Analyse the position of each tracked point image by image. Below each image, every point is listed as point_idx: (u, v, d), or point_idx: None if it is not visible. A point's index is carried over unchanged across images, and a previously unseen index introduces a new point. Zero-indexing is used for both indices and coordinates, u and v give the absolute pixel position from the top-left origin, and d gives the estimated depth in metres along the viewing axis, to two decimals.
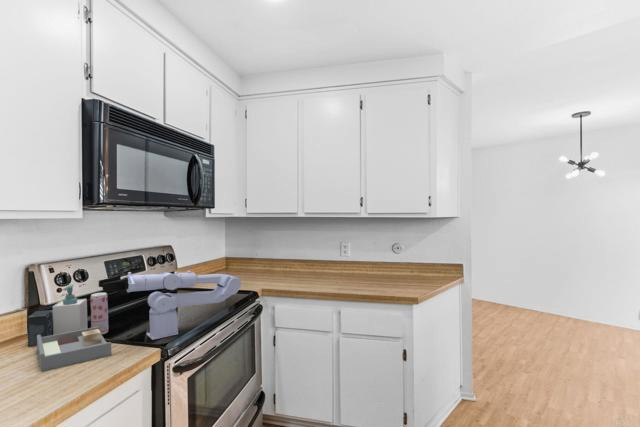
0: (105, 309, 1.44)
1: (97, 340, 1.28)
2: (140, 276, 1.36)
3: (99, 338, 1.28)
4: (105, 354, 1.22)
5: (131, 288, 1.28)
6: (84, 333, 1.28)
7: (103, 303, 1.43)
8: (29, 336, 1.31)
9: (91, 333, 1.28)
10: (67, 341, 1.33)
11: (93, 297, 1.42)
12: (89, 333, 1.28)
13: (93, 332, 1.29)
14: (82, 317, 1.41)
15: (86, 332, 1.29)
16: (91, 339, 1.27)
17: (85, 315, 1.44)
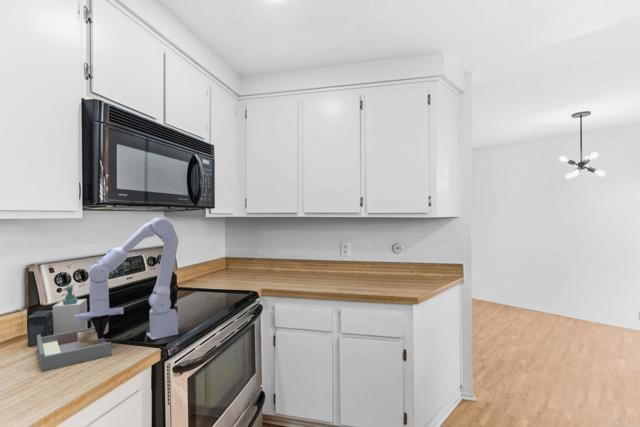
0: None
1: (92, 341, 1.27)
2: None
3: (95, 339, 1.28)
4: (105, 354, 1.22)
5: (75, 319, 1.26)
6: (80, 334, 1.27)
7: None
8: (29, 336, 1.31)
9: (87, 334, 1.27)
10: (67, 341, 1.33)
11: None
12: (85, 334, 1.27)
13: (89, 333, 1.28)
14: None
15: (82, 333, 1.28)
16: (86, 340, 1.26)
17: None
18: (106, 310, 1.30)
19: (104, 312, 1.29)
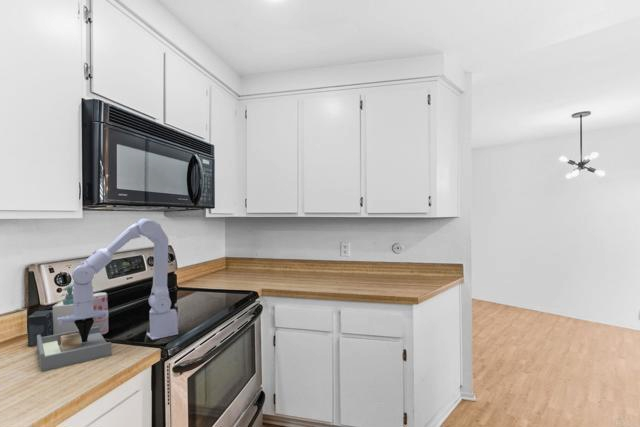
0: (105, 309, 1.44)
1: (76, 344, 1.24)
2: None
3: (78, 342, 1.25)
4: (105, 354, 1.22)
5: None
6: (63, 337, 1.24)
7: (103, 303, 1.43)
8: (29, 336, 1.31)
9: (70, 337, 1.24)
10: None
11: (93, 297, 1.42)
12: (68, 337, 1.24)
13: (72, 336, 1.25)
14: None
15: (65, 336, 1.25)
16: (70, 343, 1.23)
17: None
18: (90, 313, 1.27)
19: (88, 315, 1.26)
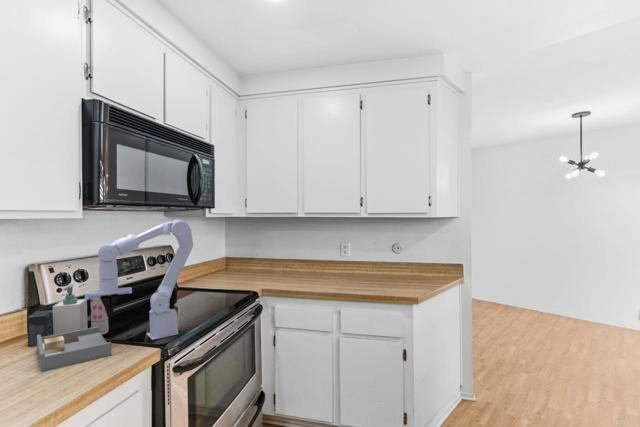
0: None
1: (60, 348, 1.21)
2: None
3: (62, 346, 1.22)
4: (105, 354, 1.22)
5: (85, 297, 1.29)
6: (46, 340, 1.21)
7: None
8: (29, 336, 1.31)
9: (54, 340, 1.21)
10: (67, 341, 1.33)
11: None
12: (51, 340, 1.21)
13: (56, 339, 1.22)
14: (82, 317, 1.41)
15: (49, 339, 1.22)
16: (53, 346, 1.20)
17: (85, 315, 1.44)
18: (115, 289, 1.33)
19: (113, 291, 1.33)
